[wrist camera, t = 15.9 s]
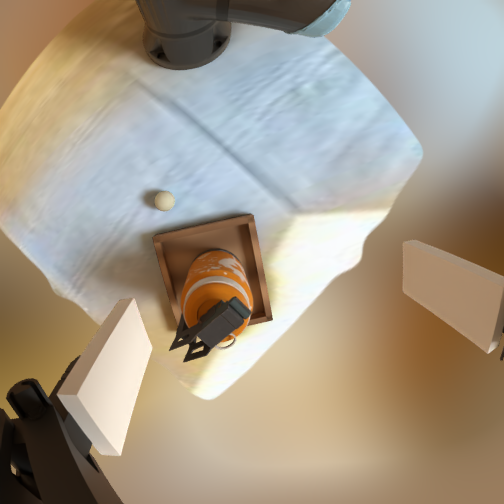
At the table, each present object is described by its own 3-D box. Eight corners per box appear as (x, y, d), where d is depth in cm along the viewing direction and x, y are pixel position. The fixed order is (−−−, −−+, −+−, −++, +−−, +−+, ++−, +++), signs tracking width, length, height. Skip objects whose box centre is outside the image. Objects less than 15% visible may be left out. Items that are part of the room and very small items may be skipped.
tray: (155, 234, 45) (152, 237, 42) (251, 213, 46) (253, 215, 44) (183, 331, 49) (181, 338, 47) (270, 313, 50) (272, 320, 48)
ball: (155, 193, 43) (150, 193, 40) (173, 188, 44) (170, 188, 41) (159, 212, 44) (155, 214, 41) (177, 208, 44) (175, 209, 41)
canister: (254, 275, 48) (280, 333, 28) (207, 317, 48) (204, 391, 29) (217, 236, 45) (218, 272, 26) (169, 281, 46) (141, 342, 27)
